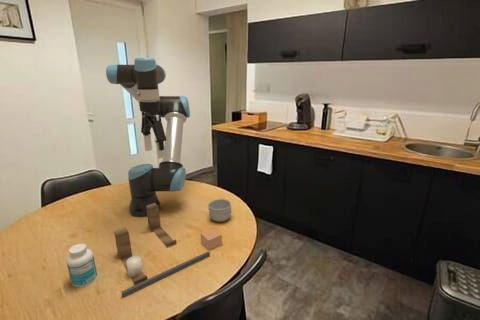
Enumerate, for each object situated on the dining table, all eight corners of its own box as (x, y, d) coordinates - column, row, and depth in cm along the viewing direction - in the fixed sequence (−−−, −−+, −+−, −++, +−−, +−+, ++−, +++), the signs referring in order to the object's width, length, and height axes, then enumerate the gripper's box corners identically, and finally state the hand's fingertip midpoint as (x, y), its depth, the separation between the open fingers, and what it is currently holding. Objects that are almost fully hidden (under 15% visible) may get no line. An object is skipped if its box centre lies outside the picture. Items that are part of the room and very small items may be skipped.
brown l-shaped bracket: (118, 257, 99) (113, 230, 95) (129, 253, 101) (125, 227, 98) (135, 289, 84) (131, 259, 80) (148, 283, 86) (144, 254, 83)
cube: (213, 240, 109) (213, 228, 107) (222, 247, 104) (221, 234, 103) (201, 246, 105) (200, 233, 104) (209, 253, 101) (208, 240, 99)
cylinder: (126, 271, 90) (124, 259, 88) (139, 266, 92) (138, 254, 91) (130, 279, 86) (128, 266, 85) (144, 273, 89) (142, 260, 87)
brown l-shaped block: (148, 228, 117) (146, 205, 114) (157, 225, 120) (155, 202, 116) (167, 251, 102) (164, 225, 99) (176, 247, 105) (174, 221, 101)
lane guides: (104, 260, 97) (103, 253, 96) (180, 230, 116) (180, 224, 115) (123, 301, 79) (122, 293, 79) (210, 259, 98) (209, 252, 97)
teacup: (228, 225, 120) (227, 210, 117) (205, 223, 122) (204, 207, 119) (234, 211, 132) (234, 196, 130) (214, 209, 135) (213, 194, 132)
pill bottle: (79, 274, 90) (71, 241, 86) (101, 273, 91) (95, 240, 87) (67, 292, 83) (58, 256, 79) (92, 290, 84) (84, 254, 80)
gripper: (129, 99, 107) (135, 149, 114) (151, 104, 89) (157, 163, 95) (147, 98, 112) (152, 146, 118) (172, 102, 93) (176, 159, 100)
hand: (154, 154), depth 107 cm, fingers open, 13 cm apart
